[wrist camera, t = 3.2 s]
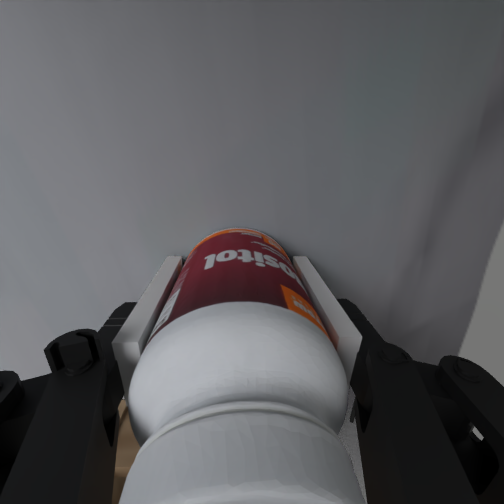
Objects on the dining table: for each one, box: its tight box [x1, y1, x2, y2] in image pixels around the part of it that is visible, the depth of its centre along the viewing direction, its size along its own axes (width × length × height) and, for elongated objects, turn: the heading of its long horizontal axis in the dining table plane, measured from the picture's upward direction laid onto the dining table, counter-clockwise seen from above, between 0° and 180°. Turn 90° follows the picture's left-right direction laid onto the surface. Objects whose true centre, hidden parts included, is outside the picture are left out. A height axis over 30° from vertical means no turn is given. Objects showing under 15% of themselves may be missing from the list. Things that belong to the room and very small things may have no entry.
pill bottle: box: [119, 228, 365, 504], centre depth 9 cm, size 6×6×11 cm
